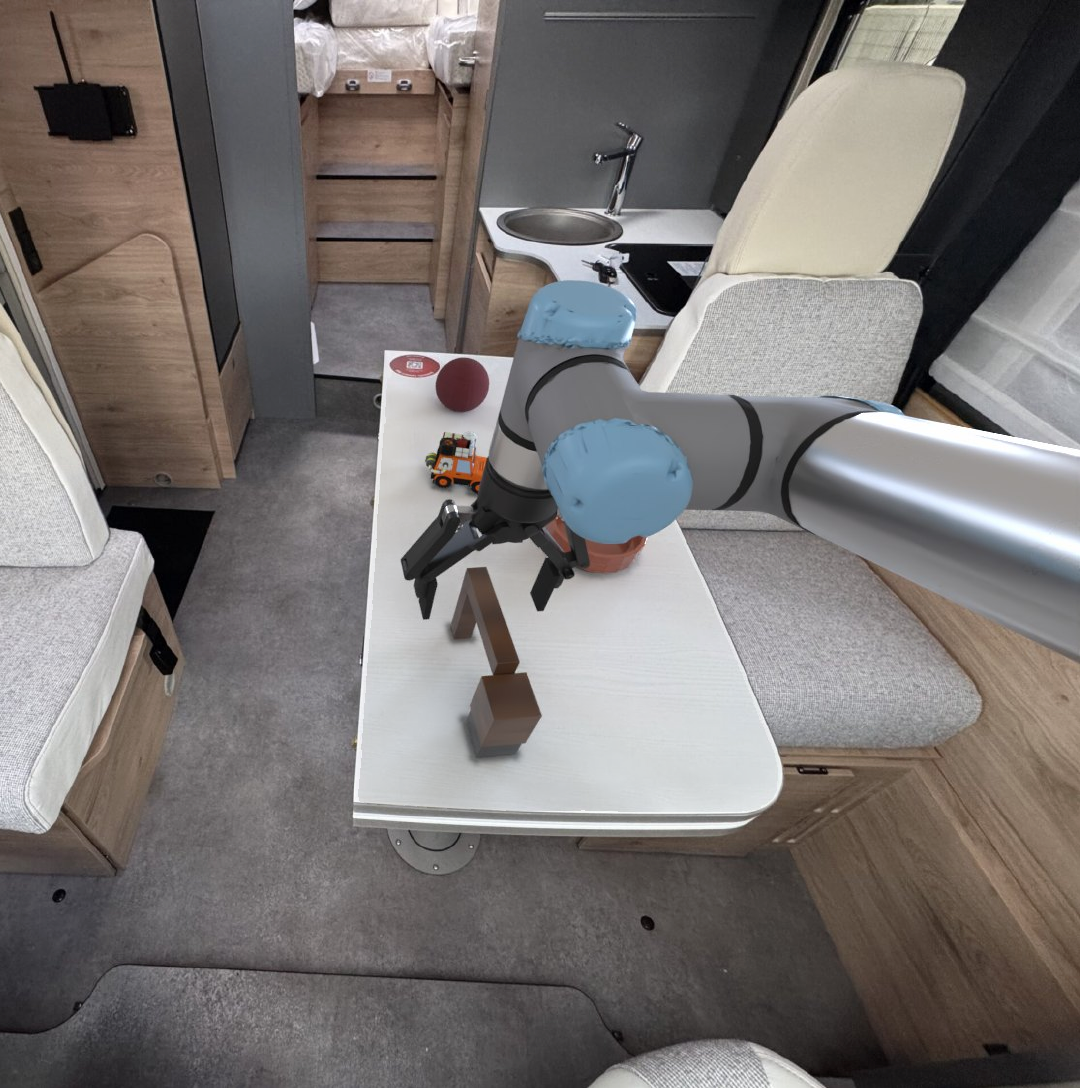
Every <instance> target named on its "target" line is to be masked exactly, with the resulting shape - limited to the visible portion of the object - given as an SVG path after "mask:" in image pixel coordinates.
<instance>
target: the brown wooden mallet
mask: <svg viewBox="0 0 1080 1088" xmlns="http://www.w3.org/2000/svg"><path fill="white" fill-rule="evenodd" d="M476 625H477V629H478V632H479V635H480V639H481V642H482V645H483V649H484V651H485V655H486V658H487V661H488V665H489V668H490V670H491V674H490V675H481V676H480V677H479V678H480V679H479V681H478V684H477V685H476V686H477V687H476V689H475V691H474V694H473V696H472V699H471V701H470V703H469V707H470V710H469V714H468V715H467V718H466V724H467V728H468V731H469V736H470V740H471V744H472V747H473V748H472V749H473V751H474V755H475V759H484V758H486V759H487V758H496V757H505V756H514V755H516V754H517V753H518V751H519V749H520V748H521V746H522V745H523V744H526V743H527V741H528V740H529V739H530V737H531V735H532V733H533V732H534V730H535V728H536V727H537V725H538V723H539V722H540V720H541V719H542V717H543V715H542V711H541V709H540V706H539V703H538V700H537V698H536V694H535V692H534V689H533V686H532V683H531V681H530V678H529V675H528V672H526V671H525V672H516V671H517V670H518V668H519V665H520V663H521V662H520V658H519V654H518V652H517V649H516V646H515V643H514V641H513V638H512V635H511V632H510V630H509V626H508V624H507V621H506V619H505V615H504V613H503V609H502V607H501V603H500V602H499V599H498V596H497V592H496V590H495V587H494V585H493V581H492V578H491V575H490V573H489V570H488V567H487V566H476V567H475V566H474V567H467V568H466V570H465V573H464V576H463V580H462V584H461V588H460V590H459V593H458V598H457V601H456V605H455V609H454V611H453V615H452V619H451V623H450V632H451V635H452V639H453V640H465V639H472V637H473V634H474V630H475V628H476Z"/></svg>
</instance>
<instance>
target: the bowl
mask: <svg viewBox="0 0 1080 1088" xmlns="http://www.w3.org/2000/svg"><path fill="white" fill-rule="evenodd" d="M545 529H546V530H547V531H548V532H549V533H550V535H551V536H552V537H553V538H554V540H555V541H556V542H557V543H558V545H559V546H560V547H561V548H562V549H563V551H564V552H569V551H571V550H570V545H569V541H568V537H567V533H566V529H565V525H564V521H562V520H561V519H560V517H559V515H557V516H556V518H555V519H554V520H553V521H551V522H550V523H549V524H547V525H546V526H545ZM647 540H648V537H646V538H644V537H642V536H636V537H633V538H631V539H629V540H628V541H627V542H626V543H623V544H602V543H597V542H593V541H589V540H587V539H585V542H586V546H587V551H588V556H589V561H590V566H589V567H587V568H585V569H582V570H583V571H587V572H591V573H598V574H612V573H613V574H614V573H618V572H620V571H623V570H625V569H628V568H630V566H632V565H633V563H635V561H636V560H637V559H638V557H639V556H640V554H641V552H642V551H643V549H644V548H645V546H646V543H647ZM577 568H579V567H577ZM579 569H580V568H579Z"/></svg>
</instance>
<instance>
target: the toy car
mask: <svg viewBox="0 0 1080 1088" xmlns="http://www.w3.org/2000/svg"><path fill="white" fill-rule="evenodd" d="M477 438H478V436H477V434H476V432H474V431H465V432H464V433H463V434H461V433H456V432H448V431H444V432H443V434H442V437H441V439H440V441H439V443H438V448H437V450H436V453H435V452H430V453H429V452H428V453H427V455H426V456H425V460H424V463H425V466H426V467H427V469H428V471H429V472H431V473H430V478H429V479H430V480H432V484H434V483H435V485H436V487H438V488H441V489H447V488H449V487H451V485H459V486H465V487H468V488H470V491H472V493H474V494H476V495H478V491H479V485H480V481H481V478H482V474H483V470H484V467H485V463H486V460H487V457H488V456H487V457H486V456H480V455H476V452H477V447H476V441H477Z"/></svg>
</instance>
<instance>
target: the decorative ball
mask: <svg viewBox="0 0 1080 1088" xmlns="http://www.w3.org/2000/svg"><path fill="white" fill-rule="evenodd" d="M487 371H488V370H486V368H485V366H484V365H483V364H482V363H480V361H478V360H476V359H474V358H471V357H457V358H453V359H451V360H449V361H448V362H447V363H445V364H444V365H443V366H442V367H441V369H440V370H439V372H438V373H437V376H436V380H435V394H436V396H437V398H438V400H439V402H440V403H441V404H442V406H444V407H445V408H446V409H448V410H449V411H452V412H455V413H467V412H471V411H473V410H475V409H476V408H479V406H480V405H481V404H482V403H484V401H485V399H486V398H487V396H488V393H489V390H490V377H489V374H488V372H487Z"/></svg>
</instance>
